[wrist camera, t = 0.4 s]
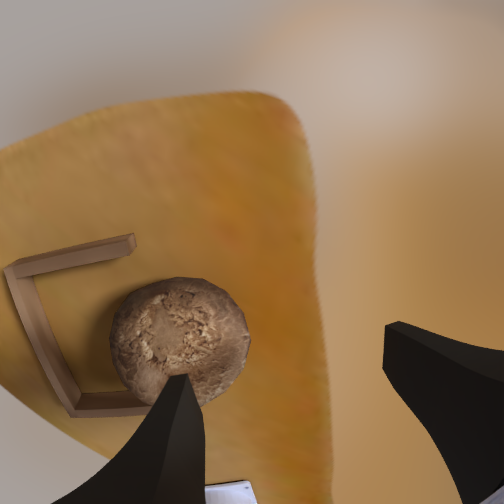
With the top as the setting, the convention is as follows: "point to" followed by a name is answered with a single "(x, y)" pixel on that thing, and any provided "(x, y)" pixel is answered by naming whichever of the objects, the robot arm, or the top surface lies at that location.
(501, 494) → the robot arm
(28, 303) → the walnut frame
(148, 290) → the mushroom
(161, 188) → the top surface
